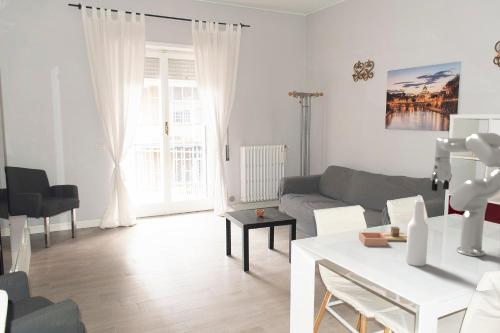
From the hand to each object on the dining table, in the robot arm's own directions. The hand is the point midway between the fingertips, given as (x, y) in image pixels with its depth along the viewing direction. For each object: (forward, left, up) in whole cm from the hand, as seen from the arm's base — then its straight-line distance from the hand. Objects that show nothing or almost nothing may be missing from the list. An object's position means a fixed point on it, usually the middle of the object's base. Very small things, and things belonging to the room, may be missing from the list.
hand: (440, 189), depth 225 cm
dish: (-12, +40, -28) cm, 50 cm away
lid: (-3, +25, -27) cm, 37 cm away
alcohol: (-42, +28, -28) cm, 58 cm away
